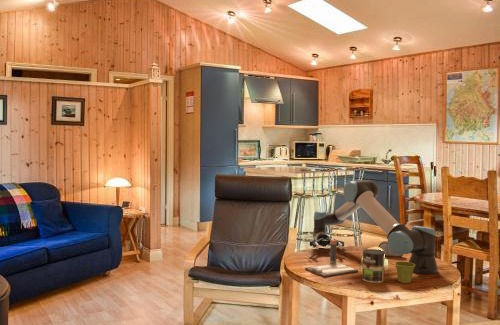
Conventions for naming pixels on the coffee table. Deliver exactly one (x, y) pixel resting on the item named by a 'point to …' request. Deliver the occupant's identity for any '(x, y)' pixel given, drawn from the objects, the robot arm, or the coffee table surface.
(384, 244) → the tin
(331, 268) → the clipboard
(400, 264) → the plant pot
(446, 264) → the coffee table surface
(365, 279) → the coffee can
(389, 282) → the coffee table surface
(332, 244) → the marker
